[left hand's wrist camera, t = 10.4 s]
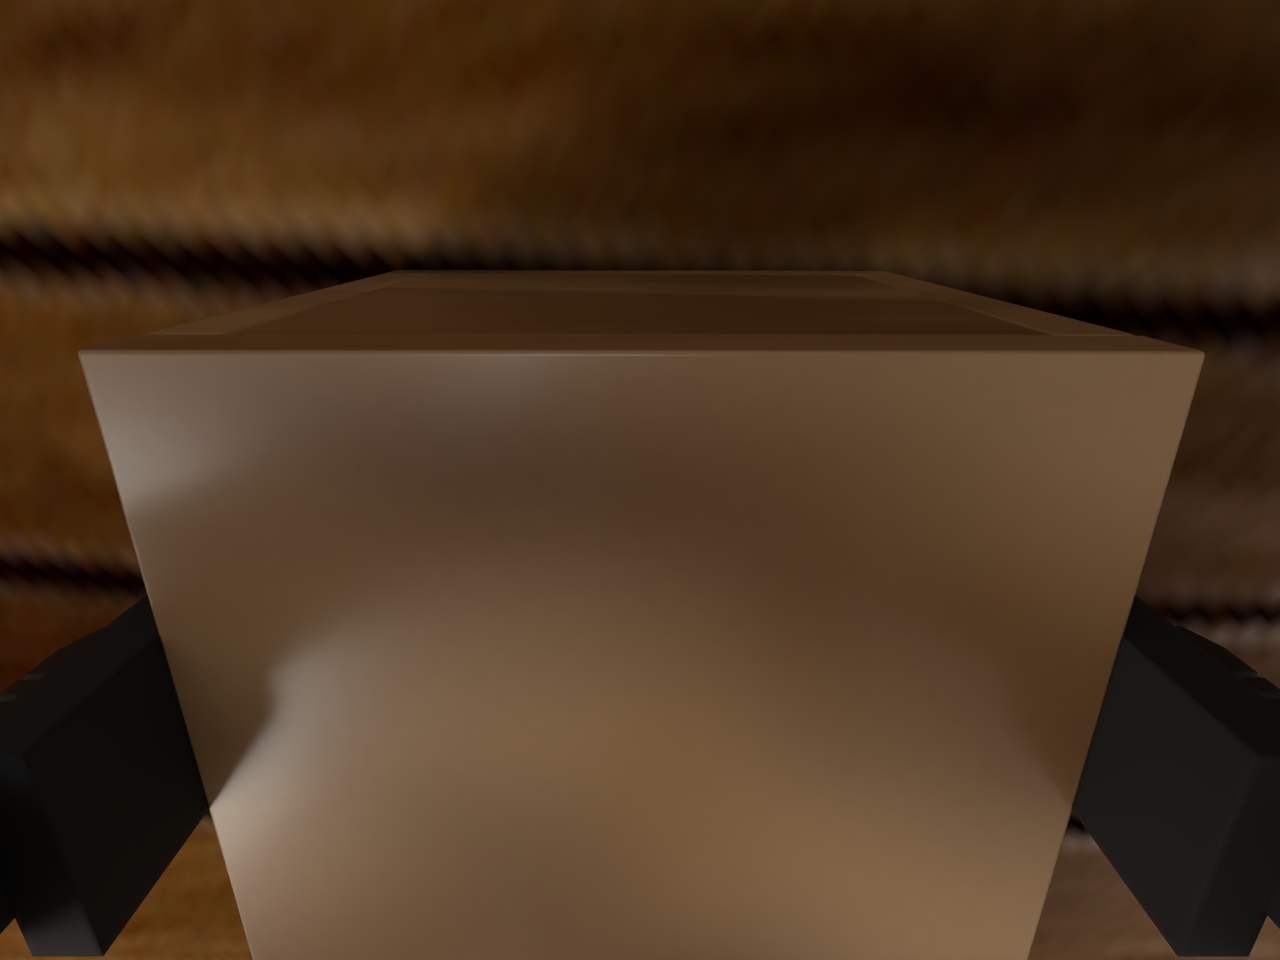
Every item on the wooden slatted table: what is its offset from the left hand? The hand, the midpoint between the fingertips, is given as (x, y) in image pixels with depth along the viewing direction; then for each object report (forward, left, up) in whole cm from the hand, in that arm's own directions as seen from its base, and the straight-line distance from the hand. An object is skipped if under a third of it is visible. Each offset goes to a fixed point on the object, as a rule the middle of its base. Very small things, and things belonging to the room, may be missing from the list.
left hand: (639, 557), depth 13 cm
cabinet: (0, +6, -5) cm, 8 cm away
